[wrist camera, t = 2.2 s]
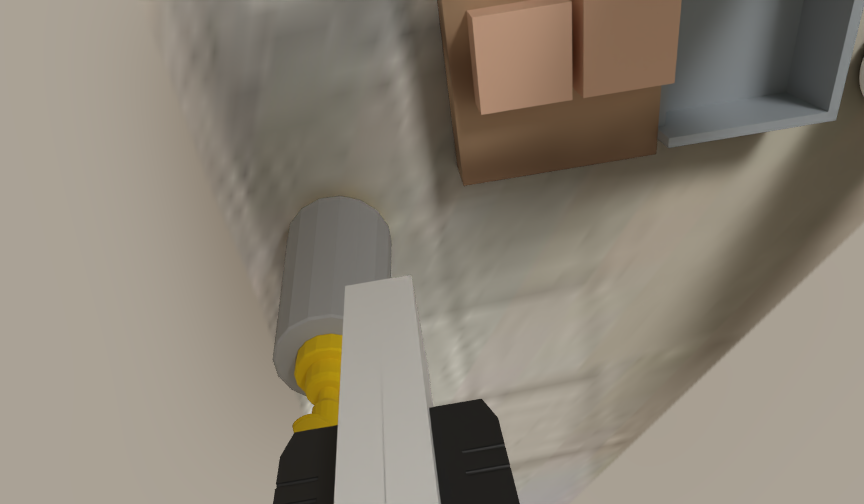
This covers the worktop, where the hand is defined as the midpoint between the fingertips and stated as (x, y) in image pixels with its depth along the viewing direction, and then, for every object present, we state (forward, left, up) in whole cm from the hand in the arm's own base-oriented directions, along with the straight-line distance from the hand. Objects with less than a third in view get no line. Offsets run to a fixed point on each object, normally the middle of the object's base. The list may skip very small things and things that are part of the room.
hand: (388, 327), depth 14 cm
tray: (0, +21, -25) cm, 32 cm away
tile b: (0, +13, -22) cm, 25 cm away
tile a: (0, +8, -22) cm, 23 cm away
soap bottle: (+11, -4, -25) cm, 27 cm away
